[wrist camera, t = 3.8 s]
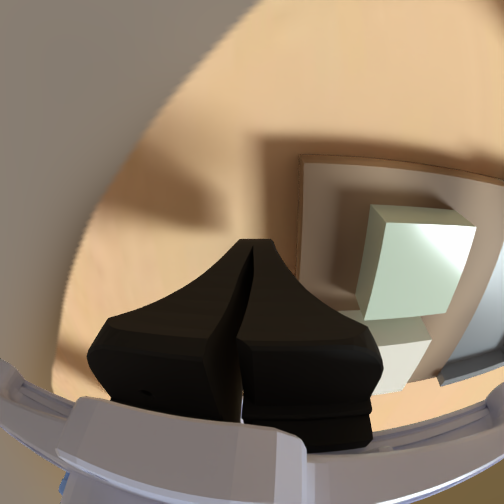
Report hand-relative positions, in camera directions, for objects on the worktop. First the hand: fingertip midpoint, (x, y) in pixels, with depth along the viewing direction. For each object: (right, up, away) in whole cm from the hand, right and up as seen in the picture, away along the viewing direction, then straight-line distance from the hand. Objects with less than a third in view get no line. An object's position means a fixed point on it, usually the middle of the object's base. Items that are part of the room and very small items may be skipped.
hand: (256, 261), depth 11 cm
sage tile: (+7, 0, 0) cm, 7 cm away
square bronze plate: (+8, -2, +3) cm, 9 cm away
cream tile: (+6, -4, +3) cm, 8 cm away
